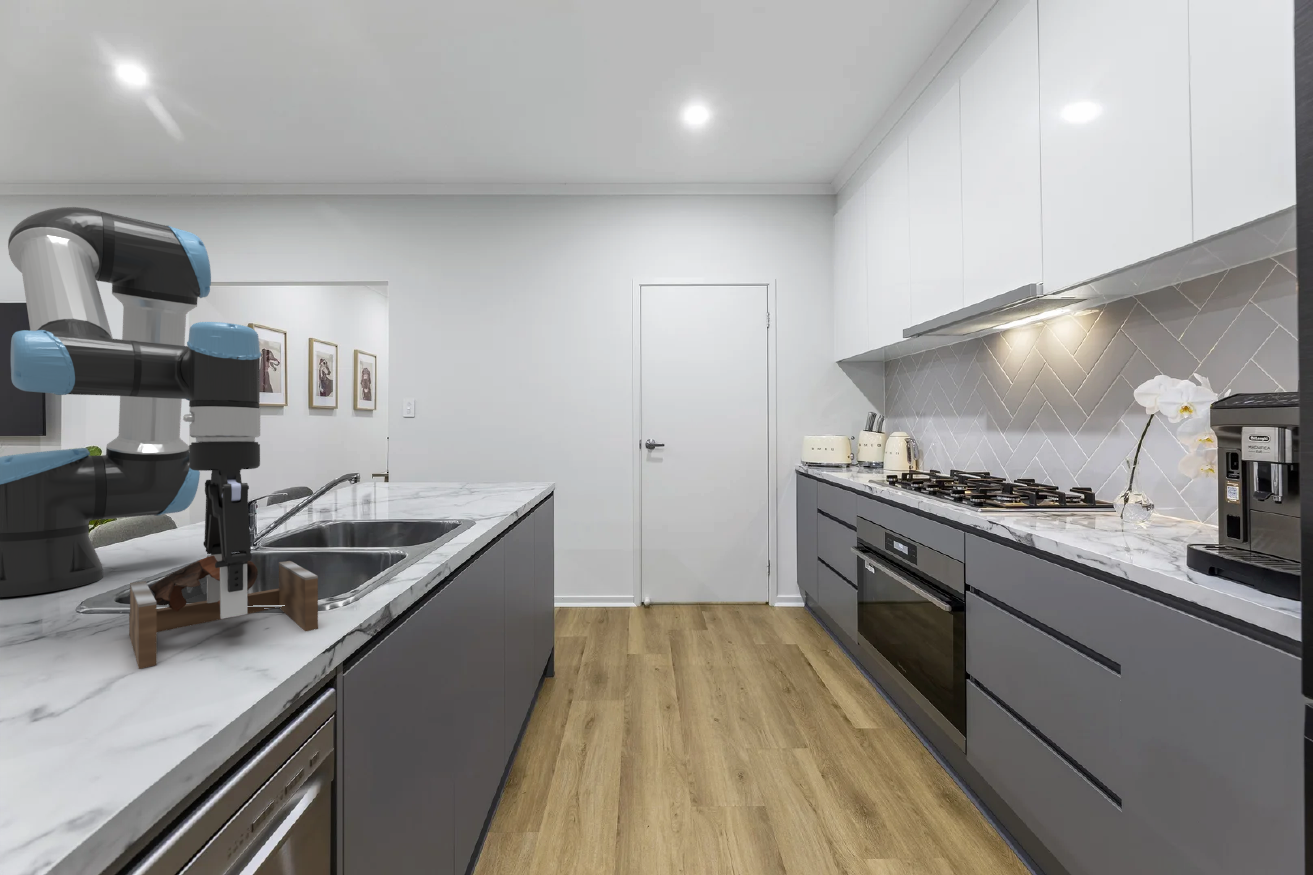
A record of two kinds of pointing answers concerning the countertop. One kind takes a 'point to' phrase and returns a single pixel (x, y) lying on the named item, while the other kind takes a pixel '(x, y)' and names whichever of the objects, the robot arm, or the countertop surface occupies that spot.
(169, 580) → the pottery mug
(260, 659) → the countertop surface
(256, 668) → the countertop surface
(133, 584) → the wooden stand
